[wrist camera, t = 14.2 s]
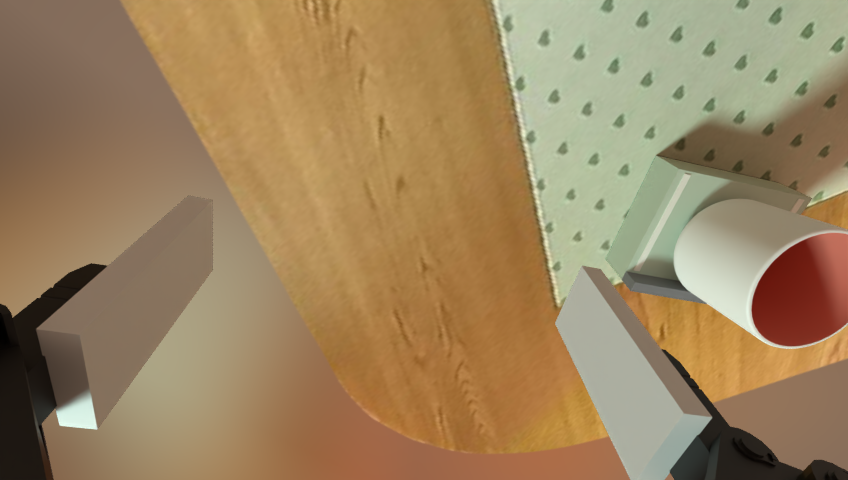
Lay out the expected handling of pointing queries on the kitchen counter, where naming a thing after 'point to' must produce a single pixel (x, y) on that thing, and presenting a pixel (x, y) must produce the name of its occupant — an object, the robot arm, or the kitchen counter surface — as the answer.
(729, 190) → the dock
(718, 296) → the cup
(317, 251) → the kitchen counter surface
